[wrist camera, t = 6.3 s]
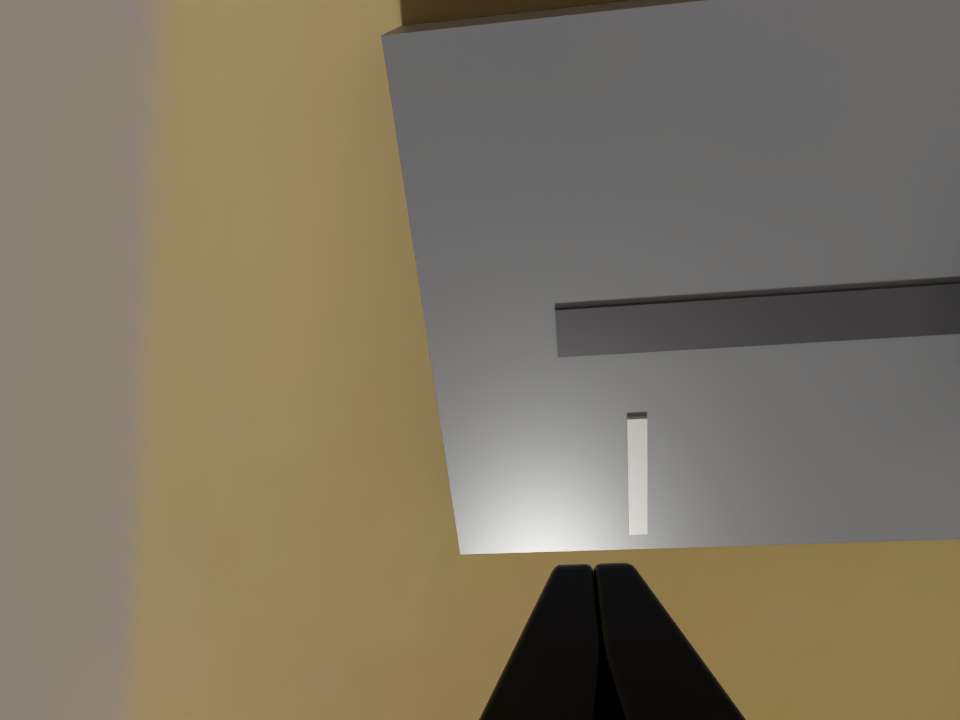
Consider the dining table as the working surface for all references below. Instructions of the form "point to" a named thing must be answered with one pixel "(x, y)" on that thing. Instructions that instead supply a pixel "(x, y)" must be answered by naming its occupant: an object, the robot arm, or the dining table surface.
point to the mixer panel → (690, 269)
